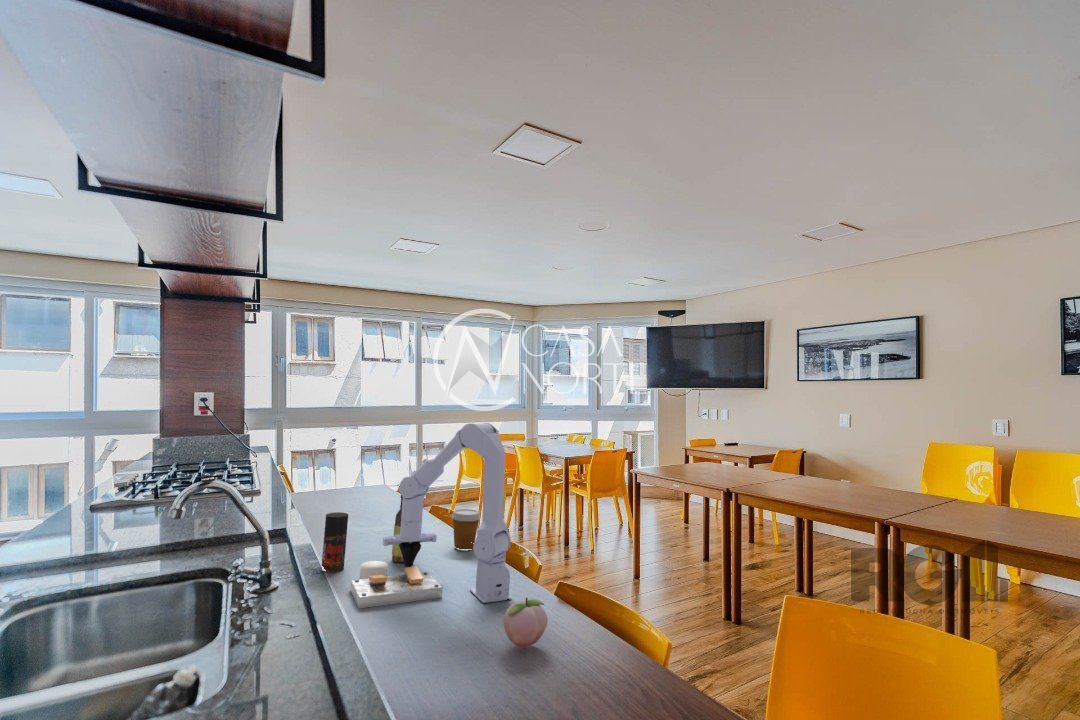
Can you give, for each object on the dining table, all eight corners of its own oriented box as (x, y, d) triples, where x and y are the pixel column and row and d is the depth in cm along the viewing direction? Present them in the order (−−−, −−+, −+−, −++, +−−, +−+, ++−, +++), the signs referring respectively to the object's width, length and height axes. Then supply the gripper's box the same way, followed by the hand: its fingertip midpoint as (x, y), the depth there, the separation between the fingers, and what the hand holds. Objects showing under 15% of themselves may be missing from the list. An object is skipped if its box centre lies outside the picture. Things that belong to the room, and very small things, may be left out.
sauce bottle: (406, 564, 154) (412, 496, 155) (387, 562, 155) (392, 494, 157) (416, 558, 160) (421, 492, 162) (397, 556, 161) (402, 490, 163)
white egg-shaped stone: (388, 583, 138) (390, 567, 139) (361, 586, 135) (362, 570, 136) (383, 574, 145) (384, 559, 145) (357, 577, 141) (358, 562, 142)
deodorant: (316, 569, 145) (321, 514, 146) (333, 564, 150) (338, 511, 152) (331, 574, 142) (336, 518, 144) (348, 568, 148) (352, 514, 149)
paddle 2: (422, 582, 133) (423, 578, 132) (410, 583, 131) (410, 579, 131) (416, 569, 138) (417, 566, 138) (404, 571, 136) (405, 567, 136)
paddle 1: (387, 581, 128) (387, 577, 128) (373, 583, 127) (374, 578, 127) (381, 578, 133) (381, 574, 133) (368, 580, 132) (369, 576, 132)
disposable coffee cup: (463, 554, 167) (466, 516, 168) (443, 548, 172) (446, 511, 173) (484, 548, 174) (486, 512, 175) (464, 542, 180) (466, 507, 181)
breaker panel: (441, 597, 130) (442, 584, 131) (358, 608, 121) (359, 594, 121) (427, 581, 141) (428, 569, 141) (350, 590, 132) (351, 577, 132)
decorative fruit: (522, 633, 113) (525, 586, 114) (552, 647, 108) (555, 597, 108) (492, 648, 106) (495, 597, 106) (522, 662, 100) (525, 609, 101)
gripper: (432, 515, 152) (429, 563, 151) (382, 518, 146) (378, 568, 145) (440, 520, 146) (436, 570, 145) (387, 524, 139) (383, 576, 138)
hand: (407, 569), depth 144 cm, fingers closed
